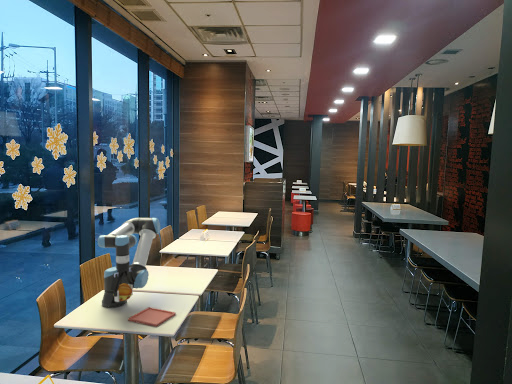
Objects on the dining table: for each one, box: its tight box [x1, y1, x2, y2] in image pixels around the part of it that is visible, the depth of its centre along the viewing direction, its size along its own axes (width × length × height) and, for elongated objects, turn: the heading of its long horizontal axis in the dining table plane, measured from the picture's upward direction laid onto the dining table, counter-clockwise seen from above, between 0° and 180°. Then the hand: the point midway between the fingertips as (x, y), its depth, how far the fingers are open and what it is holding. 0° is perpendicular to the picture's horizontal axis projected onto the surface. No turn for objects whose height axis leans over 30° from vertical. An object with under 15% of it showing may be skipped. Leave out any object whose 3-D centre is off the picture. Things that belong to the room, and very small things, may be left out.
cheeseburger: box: [113, 283, 133, 301], centre depth 219 cm, size 10×11×10 cm
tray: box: [127, 307, 177, 328], centre depth 216 cm, size 20×18×2 cm
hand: (123, 298), depth 219 cm, fingers closed on cheeseburger, 10 cm apart
